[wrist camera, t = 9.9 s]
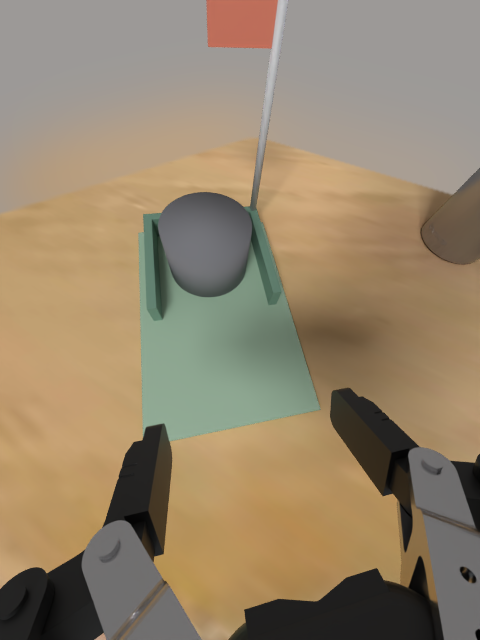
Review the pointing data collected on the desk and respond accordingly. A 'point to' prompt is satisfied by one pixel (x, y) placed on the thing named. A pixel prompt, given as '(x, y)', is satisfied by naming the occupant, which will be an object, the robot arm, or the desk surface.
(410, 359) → the desk surface
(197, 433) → the mini golf green
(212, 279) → the grey domed cylinder
